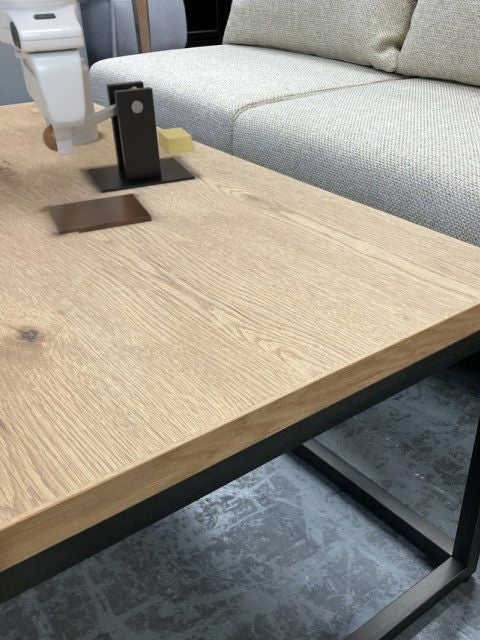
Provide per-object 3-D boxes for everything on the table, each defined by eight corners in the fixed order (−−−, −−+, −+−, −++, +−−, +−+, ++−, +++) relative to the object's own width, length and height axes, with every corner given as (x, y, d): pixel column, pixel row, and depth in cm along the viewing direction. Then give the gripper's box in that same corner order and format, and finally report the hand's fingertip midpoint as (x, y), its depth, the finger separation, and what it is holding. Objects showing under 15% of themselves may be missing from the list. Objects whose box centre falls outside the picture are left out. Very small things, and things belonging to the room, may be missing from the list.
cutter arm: (53, 159, 84) (39, 134, 82) (49, 152, 86) (35, 127, 84) (149, 112, 86) (138, 86, 84) (143, 106, 88) (132, 81, 86)
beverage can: (49, 144, 106) (32, 58, 99) (87, 136, 110) (74, 53, 103) (67, 153, 102) (52, 65, 95) (107, 145, 105) (94, 59, 99)
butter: (169, 160, 99) (167, 138, 97) (159, 150, 103) (157, 130, 101) (193, 156, 100) (191, 135, 99) (182, 147, 104) (180, 127, 102)
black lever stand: (102, 200, 86) (86, 99, 79) (87, 178, 93) (71, 84, 86) (195, 185, 90) (188, 88, 83) (174, 166, 97) (165, 75, 90)
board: (61, 244, 75) (58, 230, 74) (49, 219, 81) (46, 206, 80) (152, 228, 78) (150, 215, 77) (133, 205, 84) (132, 193, 83)
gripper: (-2, 13, 84) (23, 131, 92) (21, 36, 69) (49, 176, 76) (51, 9, 86) (72, 125, 94) (85, 31, 71) (107, 167, 78)
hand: (62, 148), depth 85 cm, fingers closed on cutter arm, 3 cm apart
